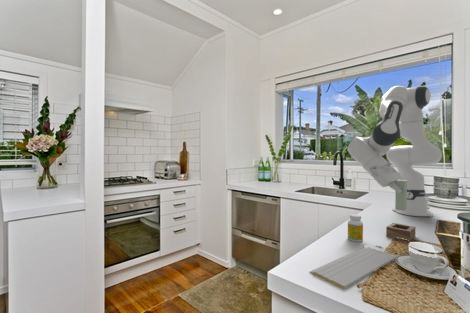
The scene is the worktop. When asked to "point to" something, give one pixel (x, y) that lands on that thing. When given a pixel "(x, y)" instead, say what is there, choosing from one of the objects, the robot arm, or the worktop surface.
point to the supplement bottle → (355, 228)
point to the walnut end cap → (400, 231)
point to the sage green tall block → (401, 195)
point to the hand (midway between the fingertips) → (403, 191)
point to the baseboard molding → (353, 266)
